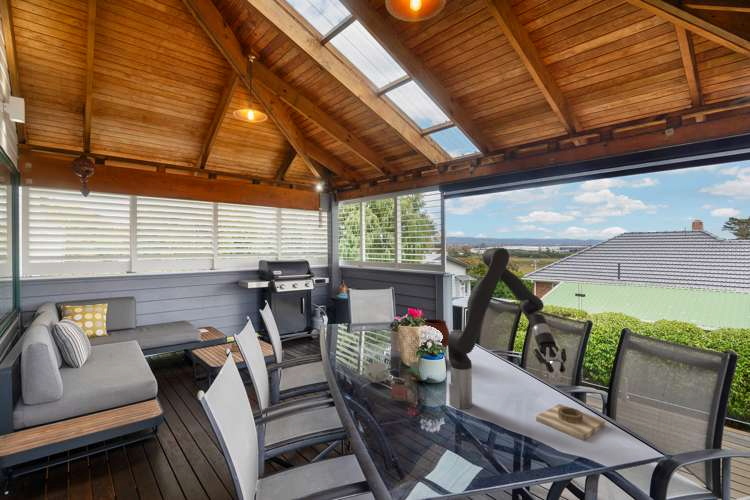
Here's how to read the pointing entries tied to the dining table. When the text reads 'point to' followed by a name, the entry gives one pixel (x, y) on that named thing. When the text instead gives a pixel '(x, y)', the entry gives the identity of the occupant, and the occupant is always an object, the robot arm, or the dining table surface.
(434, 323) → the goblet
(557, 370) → the roller
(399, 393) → the lighter
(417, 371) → the food container
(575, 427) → the wooden board with ring
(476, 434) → the dining table surface
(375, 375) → the grey spiky lump
